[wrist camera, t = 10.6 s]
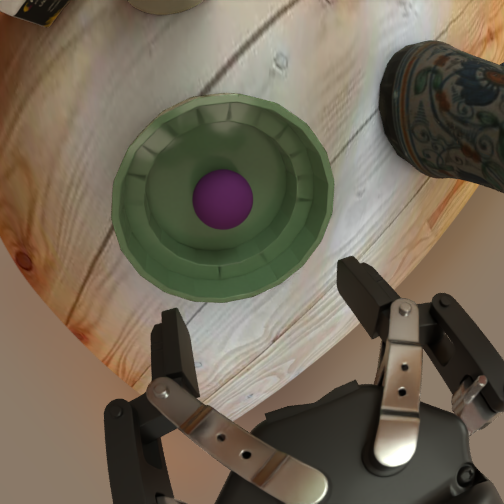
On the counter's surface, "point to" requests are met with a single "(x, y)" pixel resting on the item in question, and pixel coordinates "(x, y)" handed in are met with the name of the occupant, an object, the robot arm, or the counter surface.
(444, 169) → the beer stein
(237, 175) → the ball
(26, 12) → the medicine bottle
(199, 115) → the green bowl
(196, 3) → the travel mug
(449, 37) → the counter surface
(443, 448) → the robot arm
